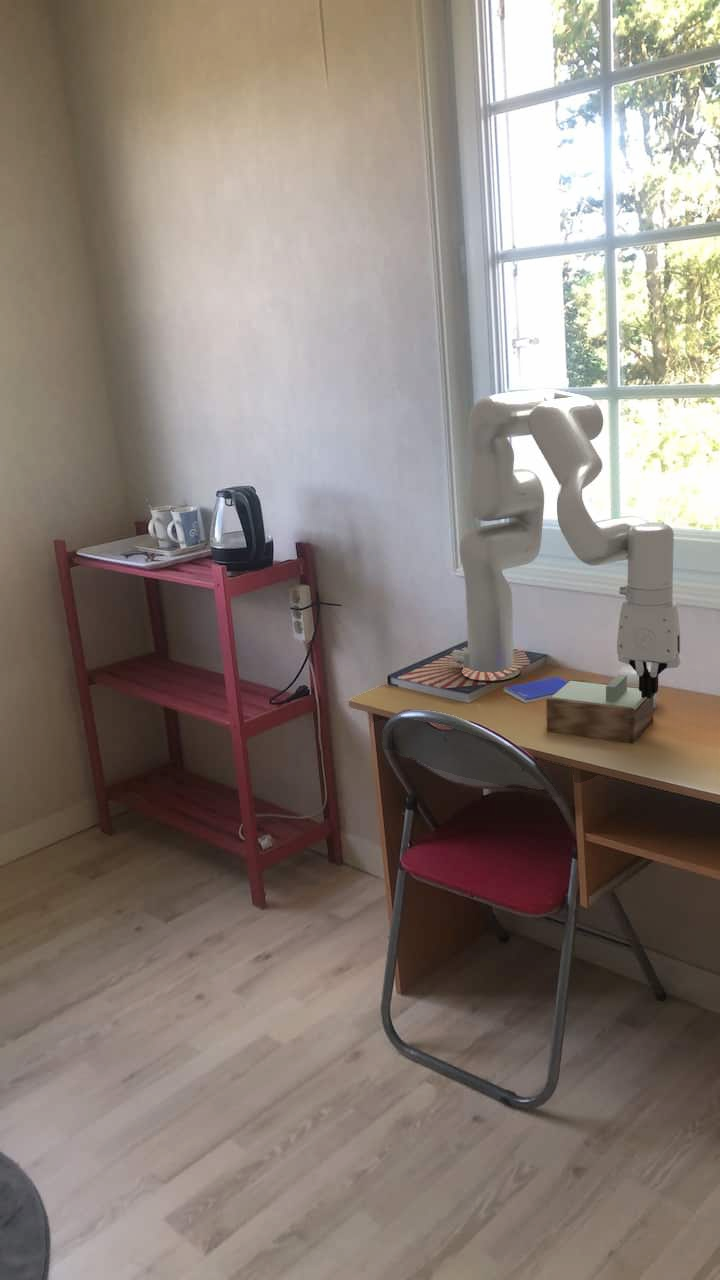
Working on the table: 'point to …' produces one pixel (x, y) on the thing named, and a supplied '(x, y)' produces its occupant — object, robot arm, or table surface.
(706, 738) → the table surface
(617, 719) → the walnut box
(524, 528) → the robot arm
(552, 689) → the blue book
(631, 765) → the table surface
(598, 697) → the lid
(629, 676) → the white round canister
